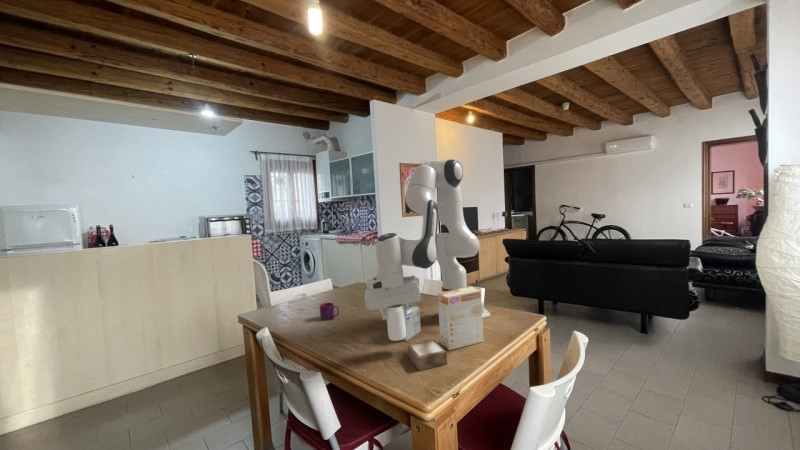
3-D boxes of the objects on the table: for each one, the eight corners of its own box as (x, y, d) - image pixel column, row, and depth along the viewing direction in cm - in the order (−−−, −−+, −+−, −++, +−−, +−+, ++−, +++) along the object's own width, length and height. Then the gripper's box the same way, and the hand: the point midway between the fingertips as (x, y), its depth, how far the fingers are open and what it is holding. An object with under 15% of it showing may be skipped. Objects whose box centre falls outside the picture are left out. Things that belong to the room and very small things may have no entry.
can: (404, 341, 107) (401, 307, 106) (386, 341, 108) (383, 308, 108) (408, 333, 113) (405, 301, 113) (390, 334, 115) (387, 302, 114)
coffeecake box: (473, 335, 121) (470, 286, 120) (484, 342, 114) (481, 290, 113) (439, 343, 116) (436, 292, 115) (449, 350, 109) (445, 296, 108)
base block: (434, 351, 110) (433, 339, 109) (447, 363, 100) (446, 351, 100) (408, 356, 107) (407, 344, 106) (418, 370, 97) (417, 357, 97)
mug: (327, 315, 157) (326, 302, 156) (342, 317, 152) (341, 303, 152) (317, 319, 151) (316, 306, 151) (333, 322, 146) (332, 308, 146)
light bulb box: (408, 328, 132) (406, 304, 131) (421, 331, 128) (419, 306, 127) (393, 338, 123) (391, 311, 123) (407, 341, 119) (405, 314, 119)
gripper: (415, 273, 115) (418, 309, 116) (361, 282, 109) (365, 319, 110) (421, 276, 109) (424, 314, 110) (365, 286, 103) (369, 326, 104)
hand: (394, 317), depth 110 cm, fingers closed on can, 6 cm apart
